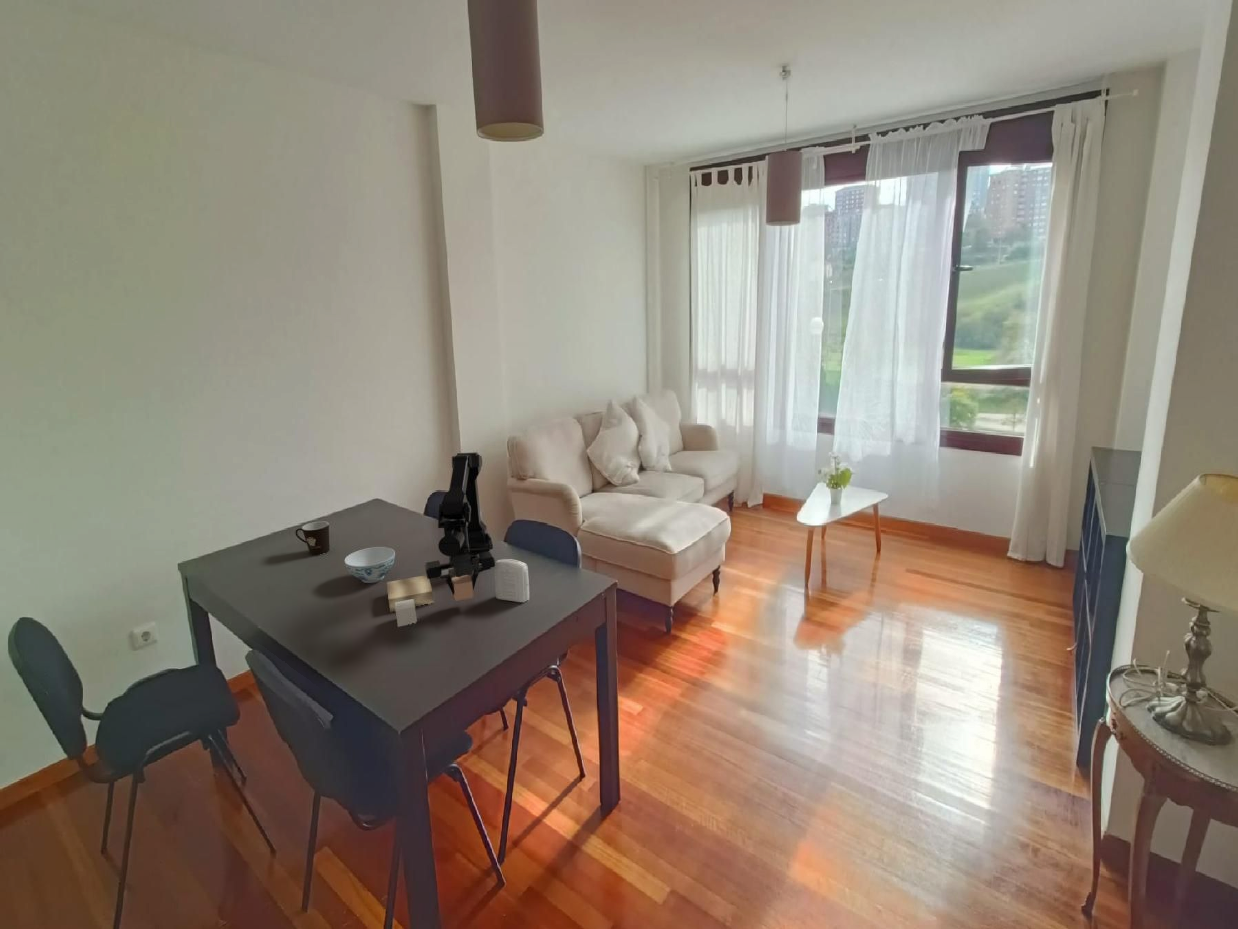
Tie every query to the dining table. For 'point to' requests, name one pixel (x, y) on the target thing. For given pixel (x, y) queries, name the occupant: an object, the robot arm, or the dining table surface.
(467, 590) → the terracotta cube
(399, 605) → the grey cube
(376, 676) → the dining table surface
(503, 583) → the white rounded block
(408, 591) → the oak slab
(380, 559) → the chinaware
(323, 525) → the coffee mug
